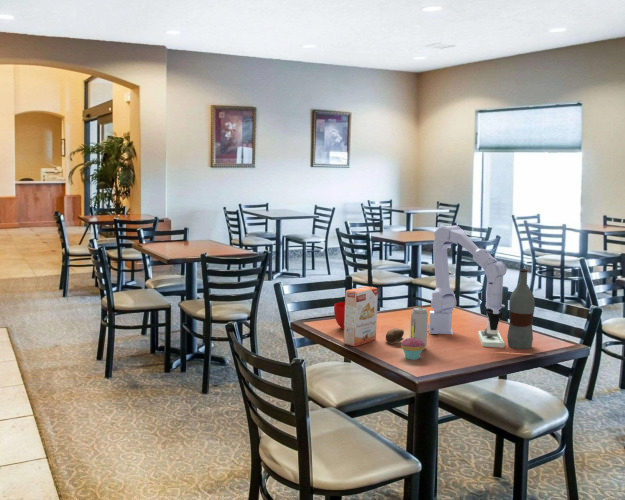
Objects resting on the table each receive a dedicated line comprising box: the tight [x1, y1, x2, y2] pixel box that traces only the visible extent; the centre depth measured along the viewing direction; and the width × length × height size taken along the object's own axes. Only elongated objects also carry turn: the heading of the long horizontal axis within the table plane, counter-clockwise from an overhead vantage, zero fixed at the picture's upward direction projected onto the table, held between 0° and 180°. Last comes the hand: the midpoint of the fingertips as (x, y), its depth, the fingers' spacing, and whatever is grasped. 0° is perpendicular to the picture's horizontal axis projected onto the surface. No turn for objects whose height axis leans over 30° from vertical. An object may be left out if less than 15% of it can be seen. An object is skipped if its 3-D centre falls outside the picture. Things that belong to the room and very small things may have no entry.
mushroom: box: [385, 327, 405, 345], centre depth 250 cm, size 8×8×6 cm
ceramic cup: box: [333, 301, 345, 331], centre depth 272 cm, size 13×17×10 cm
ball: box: [483, 327, 494, 337], centre depth 258 cm, size 4×4×4 cm
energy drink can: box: [409, 307, 429, 348], centre depth 242 cm, size 6×6×15 cm
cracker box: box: [343, 285, 379, 347], centre depth 249 cm, size 14×6×21 cm, turn 139°
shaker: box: [486, 316, 499, 334], centre depth 249 cm, size 4×4×6 cm
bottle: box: [507, 268, 536, 350], centre depth 244 cm, size 9×9×30 cm
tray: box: [477, 330, 506, 349], centre depth 253 cm, size 8×18×2 cm, turn 171°
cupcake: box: [400, 323, 426, 361], centre depth 230 cm, size 9×8×12 cm
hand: (492, 328), depth 249 cm, fingers closed on shaker, 4 cm apart
